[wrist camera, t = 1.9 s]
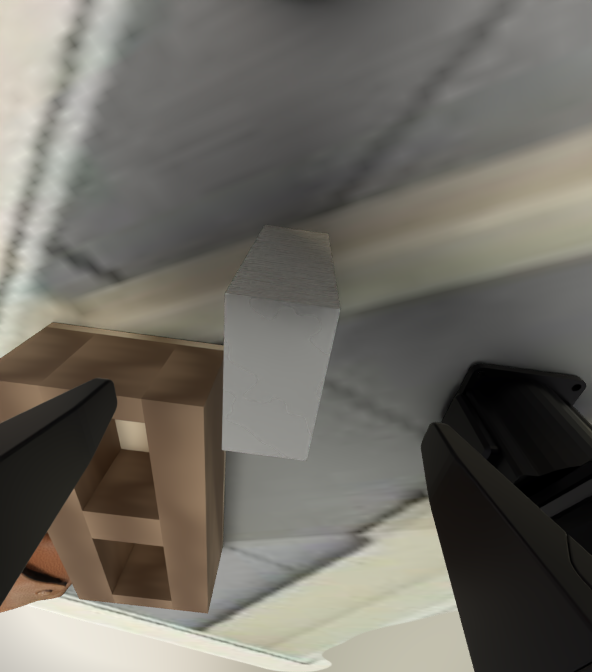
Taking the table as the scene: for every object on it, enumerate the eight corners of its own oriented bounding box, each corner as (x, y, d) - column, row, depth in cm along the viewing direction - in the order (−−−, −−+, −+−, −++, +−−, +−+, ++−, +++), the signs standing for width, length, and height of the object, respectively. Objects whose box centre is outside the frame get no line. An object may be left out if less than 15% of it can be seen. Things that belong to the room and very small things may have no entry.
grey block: (328, 234, 15) (340, 309, 8) (308, 341, 18) (306, 460, 12) (264, 224, 15) (224, 293, 8) (256, 334, 18) (221, 449, 11)
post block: (228, 346, 19) (203, 406, 14) (222, 545, 30) (207, 613, 26) (52, 322, 18) (-27, 377, 14) (113, 532, 30) (79, 599, 25)
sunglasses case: (64, 598, 37) (-9, 659, 32) (33, 546, 39) (-43, 594, 33) (124, 533, 30) (42, 597, 24) (83, 471, 31) (-5, 517, 25)
